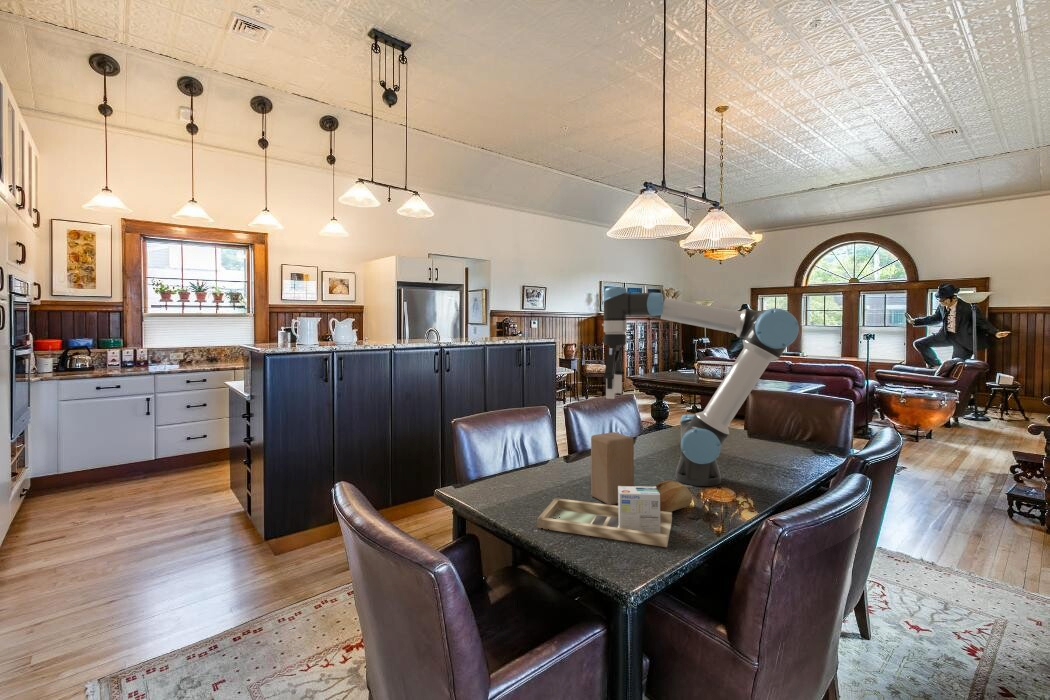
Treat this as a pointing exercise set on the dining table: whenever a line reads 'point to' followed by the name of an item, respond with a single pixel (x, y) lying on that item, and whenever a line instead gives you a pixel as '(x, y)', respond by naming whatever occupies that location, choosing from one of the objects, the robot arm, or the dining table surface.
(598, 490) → the block
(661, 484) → the bread roll
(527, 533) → the dining table surface
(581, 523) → the birch trough
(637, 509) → the light bulb box
